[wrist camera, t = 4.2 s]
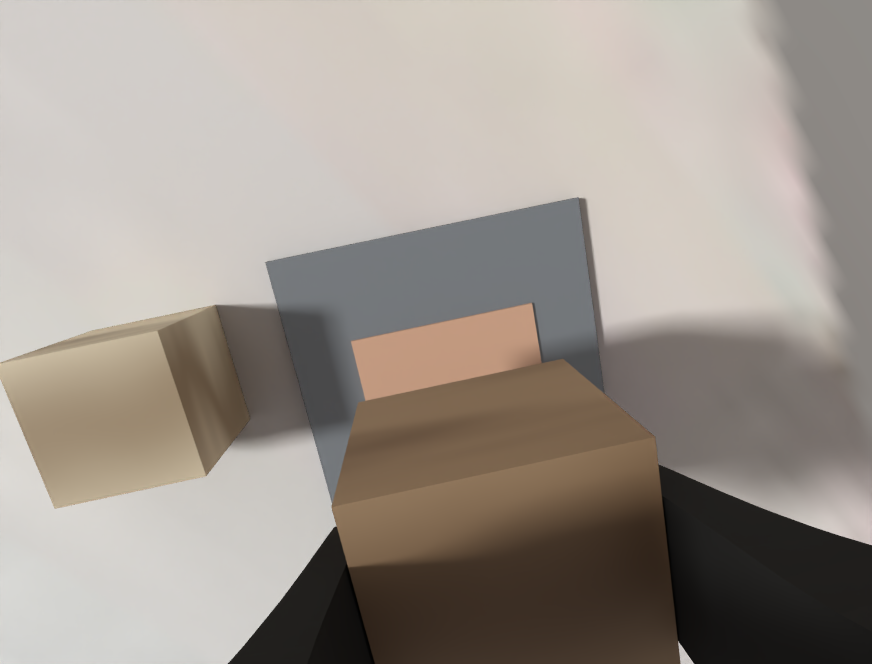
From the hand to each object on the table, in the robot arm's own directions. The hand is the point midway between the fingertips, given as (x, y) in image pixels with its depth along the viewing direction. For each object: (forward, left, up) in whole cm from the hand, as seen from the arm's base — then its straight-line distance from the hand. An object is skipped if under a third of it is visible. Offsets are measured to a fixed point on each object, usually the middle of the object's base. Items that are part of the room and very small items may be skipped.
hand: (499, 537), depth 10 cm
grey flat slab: (0, 0, -8) cm, 8 cm away
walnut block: (0, 0, -3) cm, 3 cm away
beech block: (+3, +9, -8) cm, 12 cm away
